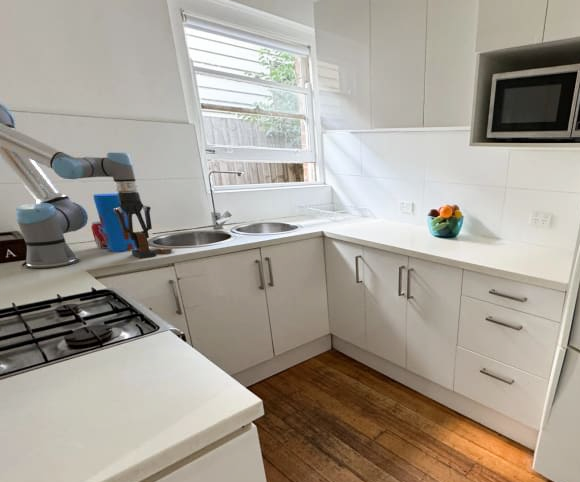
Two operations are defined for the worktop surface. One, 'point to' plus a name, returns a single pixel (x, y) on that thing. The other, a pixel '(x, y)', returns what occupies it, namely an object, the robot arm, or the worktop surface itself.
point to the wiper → (142, 247)
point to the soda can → (99, 235)
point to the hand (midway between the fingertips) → (142, 246)
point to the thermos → (112, 223)
